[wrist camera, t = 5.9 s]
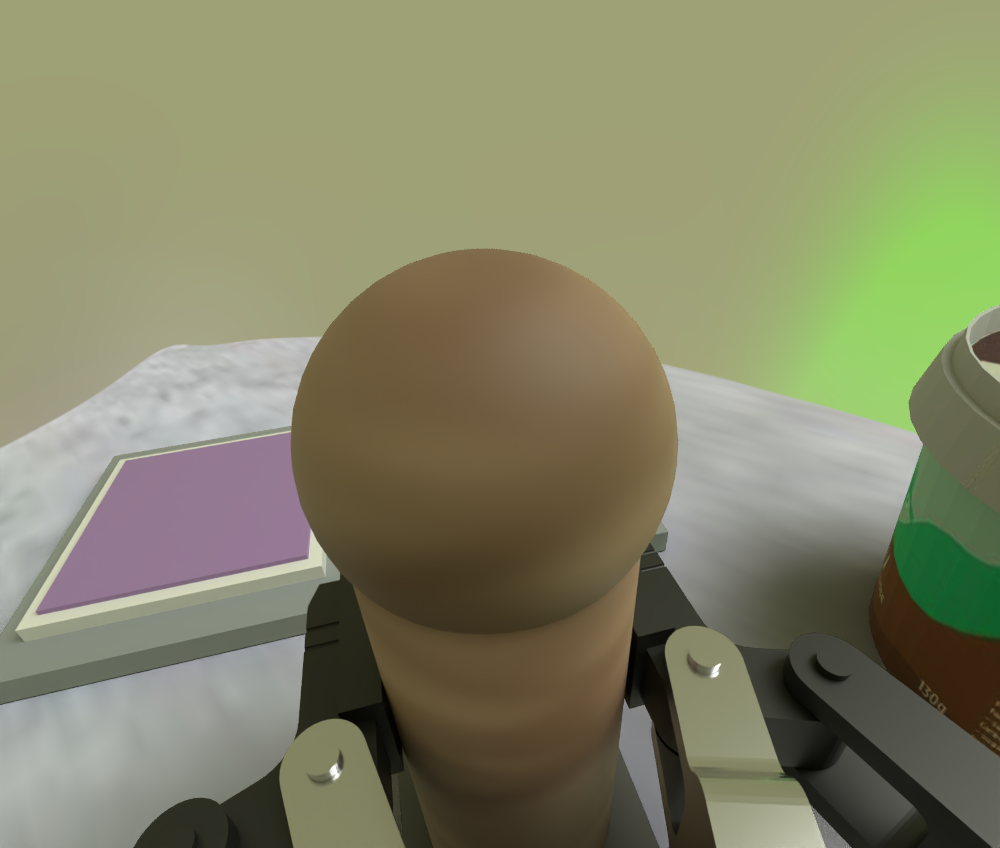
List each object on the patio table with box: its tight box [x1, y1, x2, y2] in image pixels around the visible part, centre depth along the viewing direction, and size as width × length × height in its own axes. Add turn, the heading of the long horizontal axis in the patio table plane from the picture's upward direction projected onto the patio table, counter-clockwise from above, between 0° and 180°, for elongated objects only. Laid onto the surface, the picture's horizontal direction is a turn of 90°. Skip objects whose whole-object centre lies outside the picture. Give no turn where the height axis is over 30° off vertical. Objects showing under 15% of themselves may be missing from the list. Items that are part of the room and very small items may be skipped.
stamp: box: [290, 249, 678, 848], centre depth 10 cm, size 6×6×14 cm
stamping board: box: [0, 426, 668, 704], centre depth 24 cm, size 24×13×2 cm, turn 103°
